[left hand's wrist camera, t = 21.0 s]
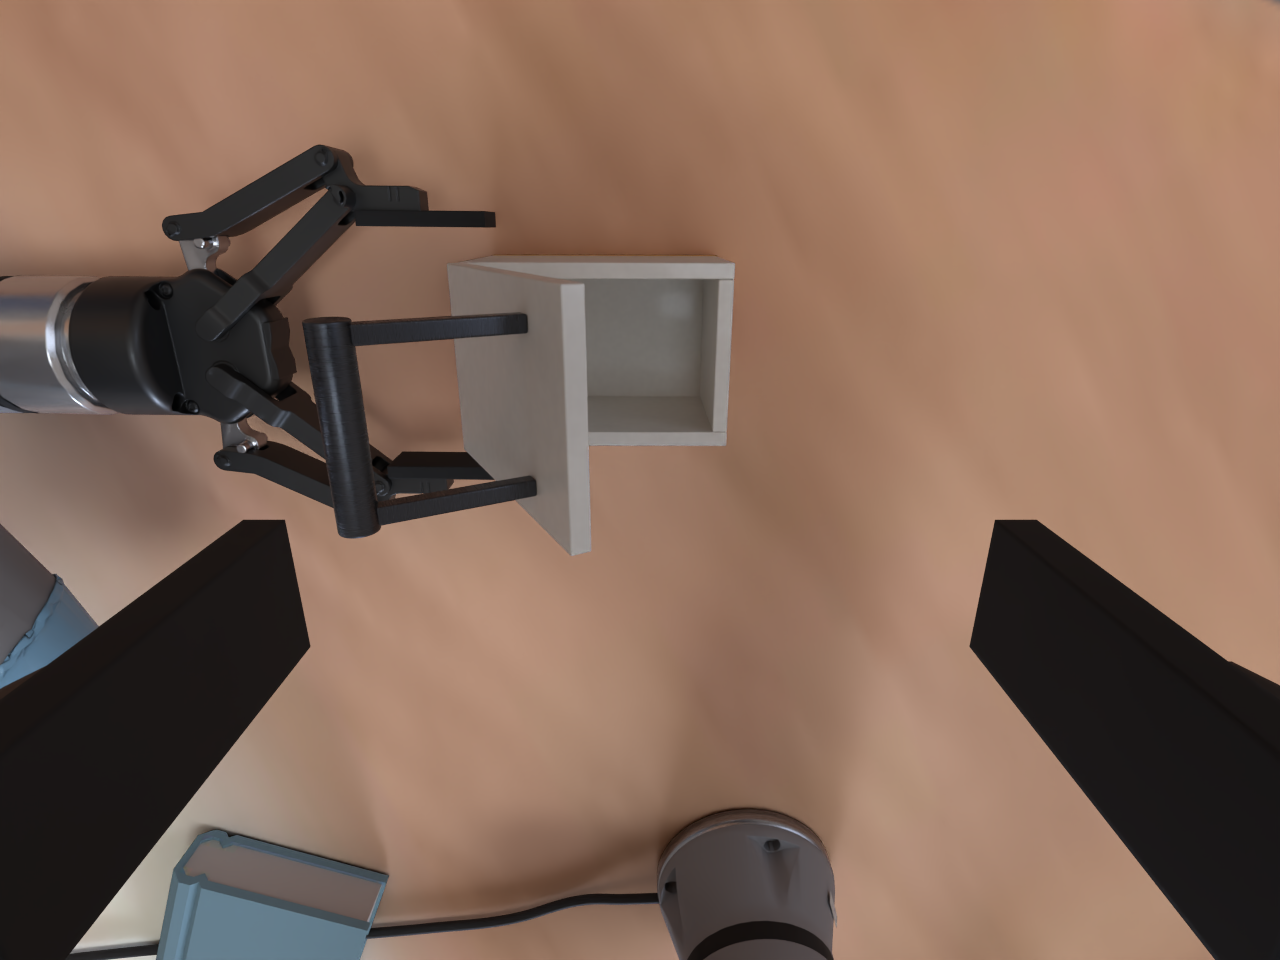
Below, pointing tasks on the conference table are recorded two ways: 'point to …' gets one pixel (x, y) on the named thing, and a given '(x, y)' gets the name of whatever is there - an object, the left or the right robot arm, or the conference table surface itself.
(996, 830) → the conference table surface
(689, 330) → the chest
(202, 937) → the book
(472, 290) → the lid
